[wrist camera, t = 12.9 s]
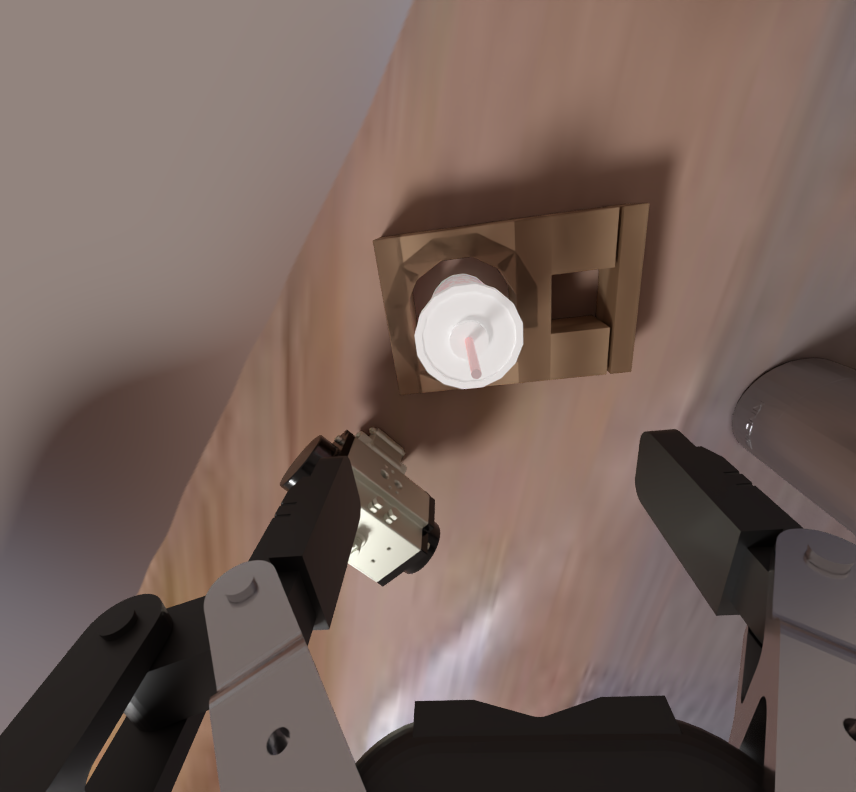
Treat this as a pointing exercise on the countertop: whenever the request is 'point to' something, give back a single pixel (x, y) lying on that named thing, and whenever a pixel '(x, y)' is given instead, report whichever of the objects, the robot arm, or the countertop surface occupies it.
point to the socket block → (529, 289)
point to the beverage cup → (468, 333)
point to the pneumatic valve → (379, 504)
